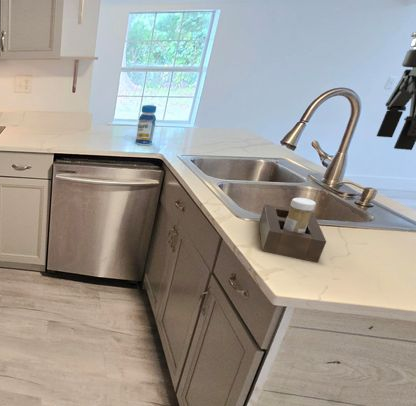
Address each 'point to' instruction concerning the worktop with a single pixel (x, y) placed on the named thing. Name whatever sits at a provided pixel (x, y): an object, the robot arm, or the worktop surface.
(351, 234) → the worktop surface
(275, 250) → the spice stand
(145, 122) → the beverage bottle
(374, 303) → the worktop surface
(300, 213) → the sprinkles bottle
